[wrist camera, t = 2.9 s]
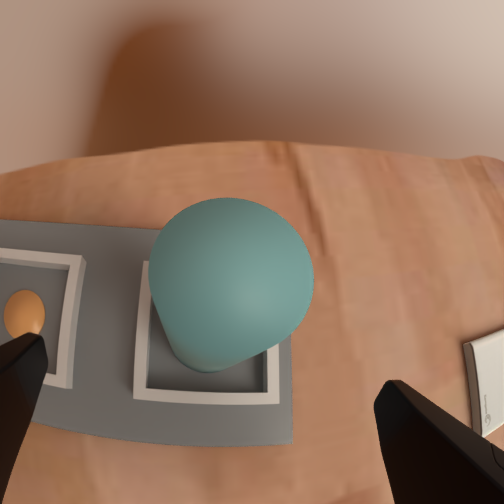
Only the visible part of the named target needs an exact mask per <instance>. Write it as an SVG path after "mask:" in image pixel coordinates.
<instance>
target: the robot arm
mask: <svg viewBox="0 0 504 504" xmlns="http://www.w3.org/2000/svg"><path fill="white" fill-rule="evenodd" d="M47 369H48V356H47V351H46V347H45V342H44V338H43V337H42V336H41V335H39V334H35V333H32V332H27V333H25V334H23V335H21V336H19V337H17V338H15V339H12V340H10V341H8V342H6V343H4V344H2V345H0V504H2V501H3V498H4V494H5V491H6V488H7V485H8V481H9V478H10V475H11V472H12V469H13V466H14V464H15V461H16V458H17V455H18V452H19V450H20V447H21V444H22V442H23V439H24V437H25V434H26V432H27V429H28V427H29V424H30V422H31V419H32V416H33V413H34V410H35V407H36V404H37V400H38V397H39V394H40V391H41V388H42V384H43V381H44V378H45V375H46V372H47ZM374 413H375V418H376V424H377V429H378V435H379V441H380V447H381V452H382V456H383V460H384V464H385V468H386V471H387V475H388V479H389V483H390V487H391V491H392V495H393V498H394V503H395V504H504V451H503V450H501V449H500V448H498V447H497V446H495V445H494V444H492V443H490V442H489V441H488V440H486V439H485V438H483V437H482V436H480V435H479V434H478V433H476V432H475V431H473V430H472V429H470V428H469V427H467V426H466V425H464V424H463V423H462V422H460V421H459V420H457V419H456V418H454V417H453V416H451V415H450V414H449V413H447V412H446V411H444V410H443V409H441V408H440V407H439V406H437V405H436V404H434V403H433V402H431V401H430V400H429V399H427V398H426V397H424V396H423V395H421V394H420V393H419V392H417V391H416V390H414V389H413V388H412V387H410V386H409V385H407V384H406V383H404V382H403V381H401V380H388V381H387V382H385V384H384V385H383V387H382V389H381V391H380V392H379V394H378V396H377V397H376V399H375V402H374Z"/></svg>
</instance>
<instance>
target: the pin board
mask: <svg viewBox="0 0 504 504" xmlns="http://www.w3.org/2000/svg"><path fill="white" fill-rule="evenodd" d="M160 232H161V230H155V229H141V228H127V227H113V226H98V225H83V224H68V223H52V222H35V221H18V220H0V345H2V344H4V343H6V342H8V341H10V340H12V339H15V338H17V337H19V336H21V335H23V334H25V333H27V332H32V333H35V334H39V335H41V336H42V337H43V338H44V342H45V347H46V351H47V356H48V369H47V372H46V375H45V378H44V381H43V384H42V388H41V391H40V394H39V397H38V400H37V404H36V407H35V410H34V413H33V416H32V419H31V421H32V422H35V423H39V424H43V425H47V426H51V427H55V428H59V429H64V430H68V431H73V432H78V433H83V434H88V435H94V436H99V437H105V438H112V439H119V440H126V441H134V442H143V443H153V444H165V445H179V446H204V447H243V446H267V445H282V444H293V421H292V361H291V334H290V335H289V336H288V337H287V338H285V339H284V340H283V341H282V342H280V343H278V344H276V345H275V346H273V347H271V348H269V349H267V350H265V351H263V352H261V353H259V354H257V355H255V356H253V357H250V358H248V359H246V360H244V361H242V362H240V363H238V364H235V365H233V366H231V367H229V368H227V369H224V370H222V371H219V372H215V373H201V372H197V371H194V370H191V369H189V368H188V367H186V366H185V365H183V364H182V363H181V362H180V361H179V360H178V359H177V357H176V356H175V354H174V352H173V350H172V348H171V346H170V343H169V341H168V338H167V336H166V333H165V330H164V328H163V325H162V323H161V320H160V317H159V315H158V312H157V309H156V307H155V304H154V301H153V298H152V295H151V292H150V287H149V280H148V266H149V258H150V254H151V251H152V248H153V245H154V243H155V241H156V239H157V237H158V235H159V234H160Z"/></svg>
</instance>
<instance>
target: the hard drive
mask: <svg viewBox="0 0 504 504" xmlns="http://www.w3.org/2000/svg"><path fill="white" fill-rule="evenodd" d="M463 348H464V354H465V360H466V367H467V374H468V381H469V390H470V399H471V409H472V422H473V431H475V432H476V433H478V434H479V435H480V436H482V437H483V438H484V437H485V436H487V435H488V434H490V433H491V432H493V431H494V430H496V429H497V428H498V427H500V426H501V425H503V424H504V329H502V330H499V331H497V332H494V333H492V334H489V335H486V336H484V337H481V338H479V339H476V340H473V341H470V342H468V343H465V344H463Z"/></svg>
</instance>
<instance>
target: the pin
mask: <svg viewBox="0 0 504 504" xmlns="http://www.w3.org/2000/svg"><path fill="white" fill-rule="evenodd" d="M148 280H149V287H150V292H151V295H152V298H153V301H154V304H155V307H156V309H157V312H158V315H159V317H160V320H161V323H162V325H163V328H164V330H165V333H166V336H167V338H168V341H169V343H170V346H171V348H172V350H173V352H174V354H175V356H176V357H177V359H178V360H179V361H180V362H181V363H182V364H183V365H185V366H186V367H188V368H189V369H191V370H194V371H197V372H201V373H215V372H219V371H222V370H224V369H227V368H229V367H231V366H233V365H235V364H238V363H240V362H242V361H244V360H246V359H248V358H250V357H253V356H255V355H257V354H259V353H261V352H263V351H265V350H267V349H269V348H271V347H273V346H275V345H276V344H278V343H280V342H282V341H283V340H284V339H285V338H287V337H288V336H289V335H290V334H291V333H292V332H293V331H294V330H295V329H296V328H297V327H298V325H299V324H300V323H301V321H302V320H303V318H304V316H305V314H306V312H307V310H308V308H309V305H310V302H311V299H312V294H313V287H314V275H313V267H312V262H311V258H310V256H309V253H308V250H307V248H306V246H305V244H304V242H303V240H302V239H301V237H300V236H299V234H298V233H297V232H296V231H295V229H294V228H293V227H292V226H291V225H290V224H289V223H288V222H287V221H286V220H285V219H284V218H282V217H281V216H280V215H278V214H277V213H276V212H274V211H272V210H271V209H269V208H267V207H265V206H263V205H260V204H258V203H255V202H252V201H248V200H243V199H237V198H217V199H210V200H206V201H202V202H199V203H196V204H194V205H191V206H190V207H188V208H186V209H184V210H182V211H181V212H180V213H178V214H177V215H175V216H174V217H173V218H172V219H171V220H170V221H169V222H168V223H167V224H166V225H165V227H164V228H163V229H162V230H161V232H160V234H159V235H158V237H157V239H156V241H155V243H154V245H153V248H152V251H151V254H150V258H149V266H148Z"/></svg>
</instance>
